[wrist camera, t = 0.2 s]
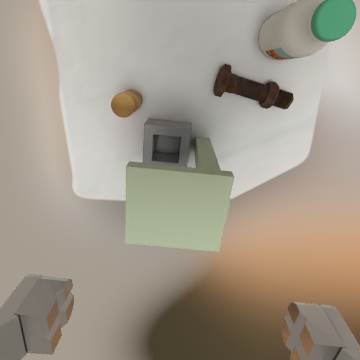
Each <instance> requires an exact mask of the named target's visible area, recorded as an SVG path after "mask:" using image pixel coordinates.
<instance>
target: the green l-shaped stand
mask: <svg viewBox="0 0 360 360" xmlns="http://www.w3.org/2000/svg"><path fill="white" fill-rule="evenodd" d="M194 152H195V161H196V168H189V167H179V166H169V165H159V164H149V163H138V162H129V163H128V164H127V166H126V229H125V230H126V231H125V234H126V235H125V243H131V244H142V245H152V246H164V247H175V248H186V249H197V250H208V251H218V252H219V249H220V245H221V240H222V235H223V230H224V225H225V221H226V220H227V215H228V210H229V205H230V200H231V199H230V195H231V190H232V185H233V180H234V176H233V173H232V172H230V171H221V170H220V167H219V165H218V162H217V159H216V156H215V153H214V150H213V147H212V144H211V141H210V139H207V138H197V137H196V141H195V149H194Z"/></svg>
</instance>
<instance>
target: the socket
mask: <svg viewBox="0 0 360 360" xmlns="http://www.w3.org/2000/svg"><path fill="white" fill-rule="evenodd" d="M156 135H165V136H174V137H181V142H180V152H179V154H169V153H159V152H155V140H156ZM190 136H191V123H186V122H176V121H167V120H157V119H148V120H147V122H146V123H145V124H144V147H143V163H149V164H159V165H169V166H179V167H187V162H188V154H189V145H190Z"/></svg>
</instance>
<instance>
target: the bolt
mask: <svg viewBox="0 0 360 360" xmlns="http://www.w3.org/2000/svg"><path fill="white" fill-rule="evenodd" d="M224 92H228V93H233V94H234V93H235V94H238V95H240V96H243V97H246V98H247V97H248V98H251V99H254V100H257V101H259V104H260V106H261V107H263V108H266V109H267V108H270V107H271V106H272V105H273V106H276V107H279V108H282V109H287V108H288V107H289V106H290V104H291V103H292V101H293V99H294V98H293V94H292V93H289V92H286V91H283V90H280V89H279V86H278V84H277V83H275V82H272V81H271V82H269V83H267V84H266V85H264V84H261V83H257V82H254V81H252V80H249V79H246V78H243V77H239V76H237V75H235V74H232V73H231V66H230V65H227V64H224V65H223V66H222V67H221V68H220V71H219V73H218V76H217V79H216V82H215V86H214V94H215V95H216V96H219V97H221V96H222V94H223V93H224Z"/></svg>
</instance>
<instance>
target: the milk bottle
mask: <svg viewBox="0 0 360 360" xmlns="http://www.w3.org/2000/svg"><path fill="white" fill-rule="evenodd" d="M355 18H356V7H355V4H354V2H353V1H352V0H299V1H296V2H294V3H292V4H291V5H289V6H287V7H285V8H284V9H282V10H280V11H279V12H277V13H275V14H274V15H272V16H271V17H269V18H268V19H267V20H266V21H265V23H264V24H263V26H262V28H261V30H260V33H259V46H260V49H261V51H262V52H263V54H264V55H265V56H267V57H268V58H270V59H274V60H282V59H292V58H300V57H305V56H309V55H311V54H313V53H315V52H317V51H318V50H320V49H321V48H322V47H323V46H325V45H326V43H327V42H330V41H334V40H338V39H339V38H341V37H343V36H344V35H346V34H347V33H348V31H349V30H350V29H351V28H352V26H353V24H354V21H355Z"/></svg>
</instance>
